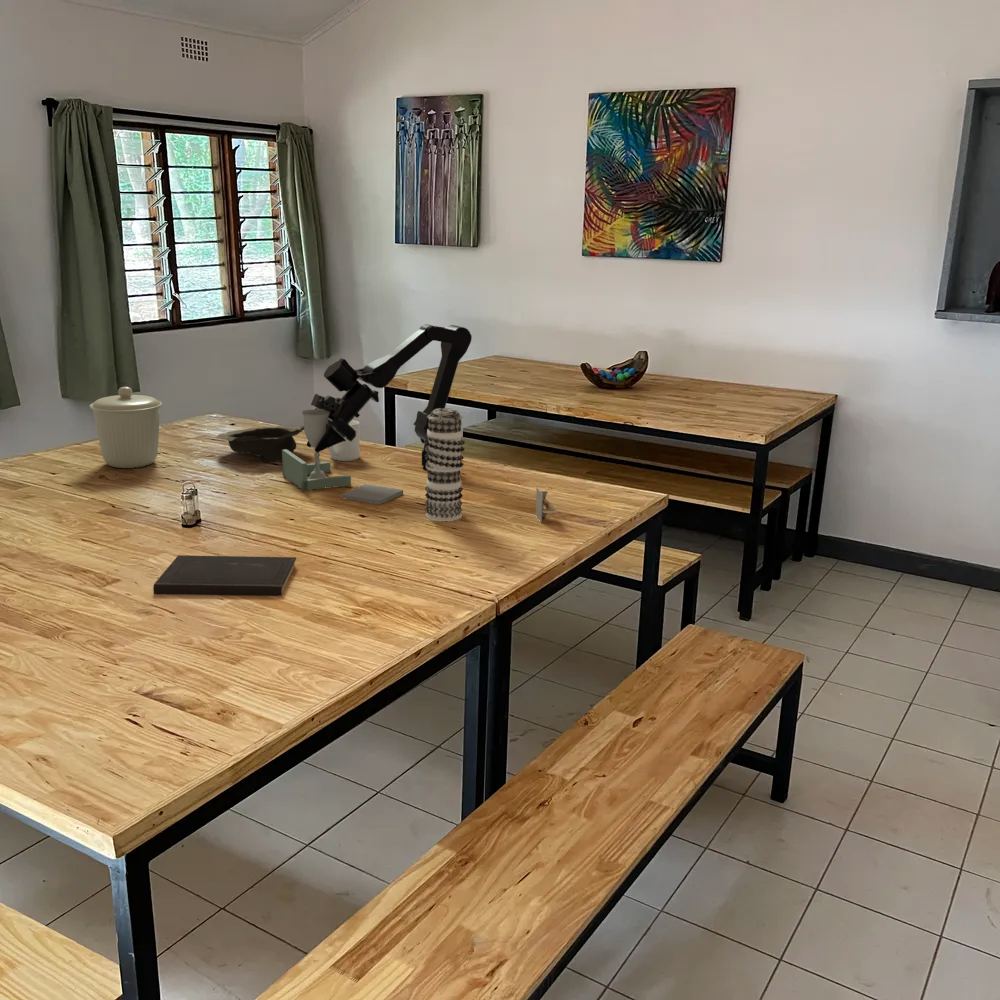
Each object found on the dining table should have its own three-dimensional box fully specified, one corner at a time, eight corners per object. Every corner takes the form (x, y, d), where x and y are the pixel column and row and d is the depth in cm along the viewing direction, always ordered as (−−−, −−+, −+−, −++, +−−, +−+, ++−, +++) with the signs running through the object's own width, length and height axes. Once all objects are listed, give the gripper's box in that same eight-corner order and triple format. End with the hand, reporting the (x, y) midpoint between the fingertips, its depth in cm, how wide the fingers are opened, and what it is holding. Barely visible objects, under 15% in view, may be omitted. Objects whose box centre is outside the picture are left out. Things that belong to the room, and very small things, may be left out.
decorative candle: (415, 515, 226) (415, 409, 219) (444, 508, 233) (445, 404, 226) (442, 524, 220) (444, 415, 213) (471, 516, 227) (473, 410, 220)
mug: (341, 465, 269) (341, 429, 266) (316, 462, 272) (315, 425, 269) (365, 456, 279) (365, 421, 276) (341, 453, 282) (340, 418, 279)
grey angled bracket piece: (549, 517, 230) (550, 487, 228) (556, 526, 223) (557, 495, 221) (535, 517, 229) (536, 487, 227) (541, 526, 223) (543, 495, 221)
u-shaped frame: (328, 470, 263) (328, 445, 261) (351, 485, 250) (350, 458, 248) (283, 475, 257) (282, 449, 255) (303, 490, 243) (302, 463, 241)
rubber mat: (365, 487, 248) (365, 484, 248) (403, 493, 244) (403, 489, 243) (341, 498, 238) (341, 494, 238) (380, 504, 234) (380, 500, 234)
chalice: (336, 478, 255) (335, 411, 250) (323, 485, 249) (322, 416, 244) (311, 475, 258) (309, 408, 252) (298, 481, 251) (296, 413, 246)
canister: (140, 452, 276) (134, 378, 270) (180, 463, 266) (175, 386, 260) (81, 464, 262) (73, 386, 256) (121, 476, 252) (114, 395, 246)
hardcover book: (178, 566, 192) (178, 555, 191) (296, 568, 193) (296, 557, 192) (153, 597, 176) (152, 585, 176) (281, 599, 177) (281, 587, 177)
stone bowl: (298, 466, 265) (294, 433, 263) (207, 470, 266) (202, 437, 263) (315, 444, 289) (312, 414, 286) (232, 448, 290) (228, 418, 287)
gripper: (317, 377, 256) (278, 421, 254) (343, 388, 240) (301, 436, 238) (346, 404, 262) (308, 448, 260) (373, 417, 246) (332, 464, 244)
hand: (311, 448), depth 250 cm, fingers closed on chalice, 6 cm apart
